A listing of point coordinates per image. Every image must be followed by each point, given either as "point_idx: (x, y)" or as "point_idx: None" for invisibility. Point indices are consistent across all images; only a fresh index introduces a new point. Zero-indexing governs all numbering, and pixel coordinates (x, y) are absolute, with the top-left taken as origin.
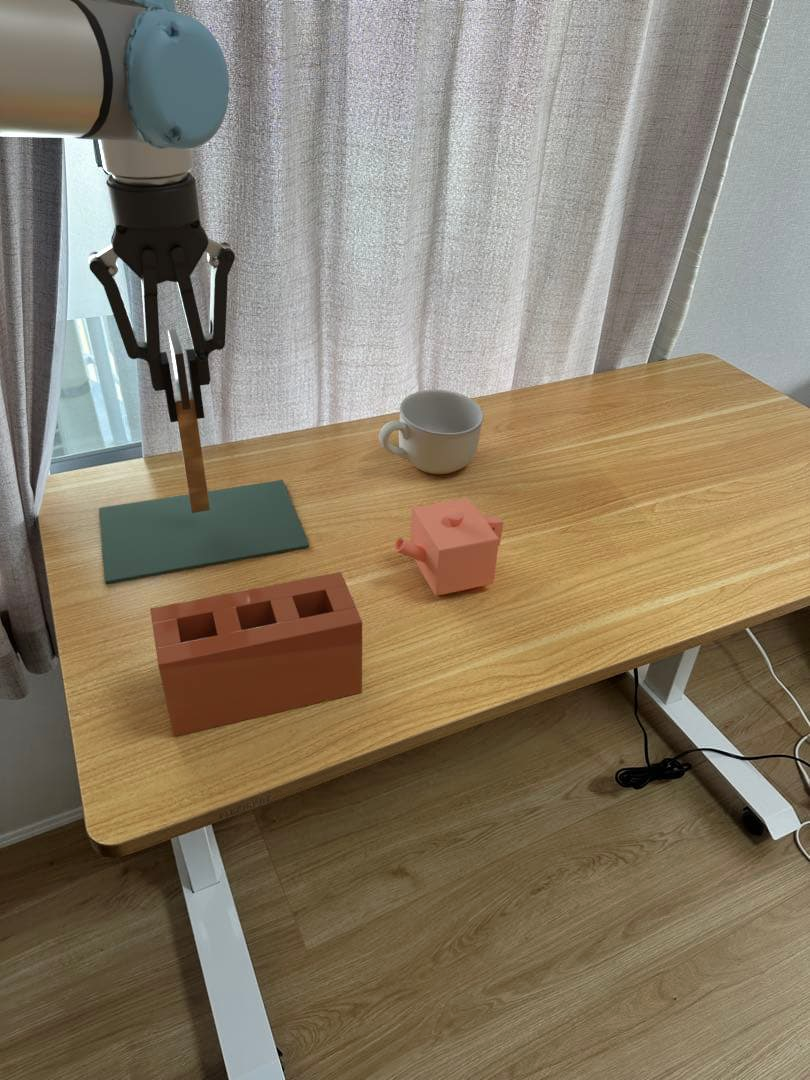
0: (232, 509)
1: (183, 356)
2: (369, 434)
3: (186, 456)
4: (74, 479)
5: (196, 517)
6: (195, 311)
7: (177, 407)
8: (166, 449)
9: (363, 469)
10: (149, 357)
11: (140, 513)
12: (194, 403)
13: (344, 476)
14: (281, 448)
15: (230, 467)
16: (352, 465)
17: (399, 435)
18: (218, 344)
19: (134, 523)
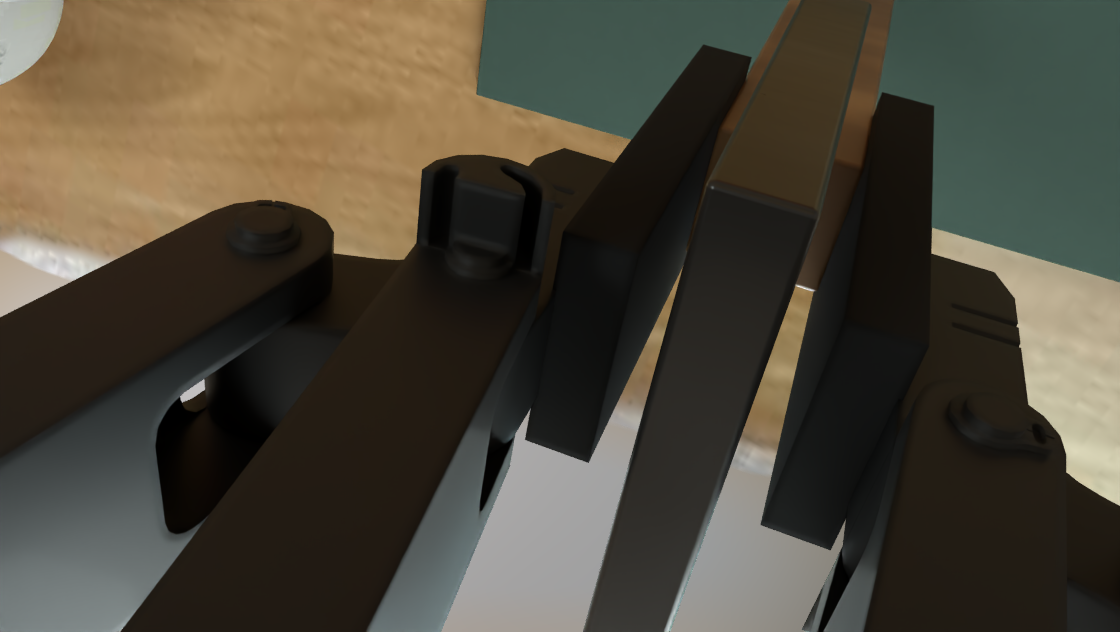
0: (706, 11)
1: (713, 170)
2: (160, 191)
3: (871, 29)
4: (1109, 492)
5: None
6: (184, 616)
7: (854, 147)
8: (751, 464)
9: (217, 17)
10: (1045, 446)
11: (1029, 173)
12: (728, 114)
13: (283, 11)
14: None
15: None
16: (244, 59)
17: (16, 9)
18: (267, 223)
19: (1087, 123)
